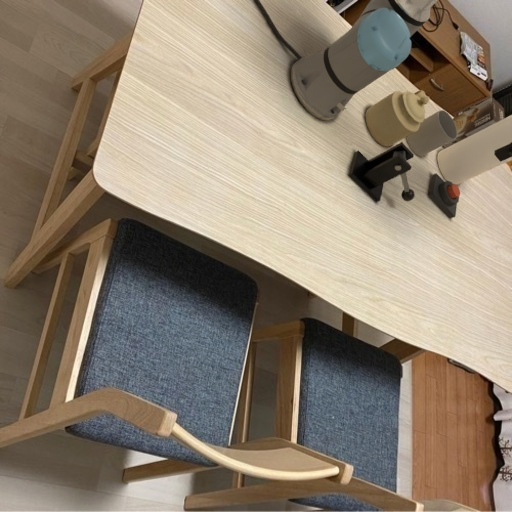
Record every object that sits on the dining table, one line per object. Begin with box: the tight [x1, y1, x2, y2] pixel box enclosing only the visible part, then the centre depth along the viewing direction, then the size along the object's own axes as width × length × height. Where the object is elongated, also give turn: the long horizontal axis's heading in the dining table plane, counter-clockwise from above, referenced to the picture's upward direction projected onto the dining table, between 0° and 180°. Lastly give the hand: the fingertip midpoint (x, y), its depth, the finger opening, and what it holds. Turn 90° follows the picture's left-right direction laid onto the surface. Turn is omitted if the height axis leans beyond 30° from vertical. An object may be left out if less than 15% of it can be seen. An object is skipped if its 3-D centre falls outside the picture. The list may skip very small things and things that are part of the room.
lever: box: [393, 151, 415, 202], centre depth 131 cm, size 14×3×3 cm, turn 68°
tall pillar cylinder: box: [436, 114, 512, 186], centre depth 154 cm, size 11×11×25 cm
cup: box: [406, 109, 457, 157], centre depth 152 cm, size 8×8×10 cm
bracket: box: [347, 141, 415, 203], centre depth 130 cm, size 10×8×12 cm
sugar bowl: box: [365, 89, 431, 147], centre depth 141 cm, size 15×11×15 cm
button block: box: [427, 172, 460, 219], centre depth 153 cm, size 10×8×4 cm
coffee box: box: [442, 96, 506, 149], centre depth 163 cm, size 9×6×16 cm
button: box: [447, 184, 461, 199], centre depth 152 cm, size 4×4×2 cm
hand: (497, 156), depth 139 cm, fingers closed
